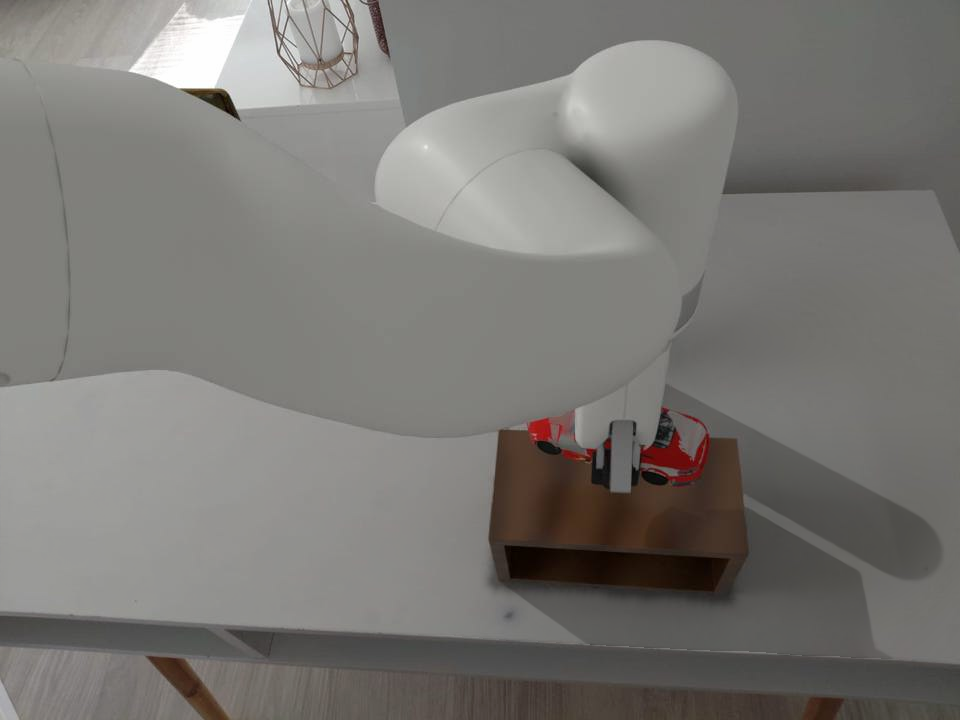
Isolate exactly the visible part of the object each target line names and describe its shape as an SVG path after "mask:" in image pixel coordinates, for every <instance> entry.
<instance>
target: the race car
mask: <svg viewBox="0 0 960 720" xmlns="http://www.w3.org/2000/svg"><path fill="white" fill-rule="evenodd" d="M610 424H612V423H610ZM526 427H527V430H528V433H529V436H530V438H531V441H532V442H533V444H534V445H535V444H536V441H537V447H538V448H539V449H540V450H541V451H543V452H545V453H547V454H551V455H558V454H560V453H561V451H562V452H563V456H564V457H567V458H571V459H574V460H578V461H581V462H584V463H588V464H591V465H592V452H595V451H596V450H597V448H596V449H588V448H582V447H581V446H580V445H579V444H578V443H577V442H576V440H575V409H574V410H572V411H569V412H566V413H564V414H560V415H556V416H553V417H549V418H545V419H541V420H537V421H533V422H529V423H526ZM709 437H710V434H709V432H708V428H707V426H706V425H705V423H704V422H703V421H701V420H700V419H699V418H697V417H695V416H692V415H689V414H687V413H683V412H679V411H676V410H672V409H669V408H666V407H663V406H662V407H661V413H660V418H659V424H658V428H657V433H656V436H655V439H654V442H653V443H652V445H651V446H650V447H648V448H647V449H646V450H644V449H643V447H641V449H640V454H641V457H642V461H641V467H640V473H641V472H642V474H641V476H642V478H643V479H644V480H645V481H647V482H648V483H650V484H654V485H659V486H661V485H666V484H667V483H668V480H669V481H670V485H669V486H672V487H684V486H689V485H692V484H694V483H695V482H696V481H697V480H698V478H699V479H701V475H702V471H703V469H704V466H705V463H706V461H707V456H708V452H709V445H710V438H709ZM605 448H610V449H611V441H605ZM640 473H639V475H640Z"/></svg>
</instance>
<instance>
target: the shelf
mask: <svg viewBox="0 0 960 720" xmlns="http://www.w3.org/2000/svg"><path fill="white" fill-rule="evenodd" d="M709 438H710V445H709V452H708V456H707V461H706V463H705V466H704V469H703V471H702V475H701V479H699V478H698V480H697V481H696V482H695V483H694V484H692V485H689V486H684V487H672V486H669V485H670V481H669V480H668V483H667V484H666V485H661V486H659V485H654V484H650V483H648V482H647V481H645V480H644V479H643V478H642V476H641V474H642V472H641V473H640V475H639V479H638V484H637V485H636V486H631V493H630V494H629V493H610V489H606V488H604V487H603V485H595V484H592V483H591V471H592V465H591V464H588V463H584V462H581V461H578V460H574V459H571V458H567V457H564V456H563V452H562V451H561V453H560V454H558V455H551V454H547V453H545V452H543V451H541V450H540V449H539V448H538V447H537V441H536V444H535V445H534V444H533V442H532V441H531V438H530V436H529V433H528V429H526V430H525V429H501V430H497V444H496V454H495V463H494V464H495V465H494V475H493V482H492V483H493V485H492V487H493V488H492V494H491V495H492V496H491V505H490V514H489V526H488V537H487V539H488V544H489V547H490V552H491V556H492V561H493V564H494V569H495V574H496V578H497V581H498V582H510V583H511V582H512V583H523V584H524V583H525V584H541V585H554V586H555V585H557V586H570V587H584V588H585V587H586V588H587V587H588V588H599V589H601V588H602V589H616V590H630V591H631V590H632V591H647V592H661V593H662V592H663V593H677V594H690V595H691V594H693V595H707V596H721V597H723V596H724V597H727V595H728V594H729V592H730V590H731V588H732V587H733V585H734V582H735V581H736V579H737V578H738V575H739V573H740V572H741V571H742V568H743V567H744V564H745V562H746V561H747V559H748V558H749V557H748V556H749V555H750V550H749V540H748V539H749V538H748V530H747V529H748V528H747V521H746V512H745V511H746V510H745V503H744V493H743V492H744V491H743V482H742V474H741V464H740V455H739V445H738V438H736V437H732V438H731V437H710V436H709Z"/></svg>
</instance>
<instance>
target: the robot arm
mask: <svg viewBox="0 0 960 720" xmlns="http://www.w3.org/2000/svg"><path fill="white" fill-rule="evenodd" d="M179 88H180V87H176V86H174V85H171V84H169V83H167V82H164V81H162V80H159V79H157V78H154V77H151V76H148V75H145V74H141V73H137V72H132V71H129V70H118V69H111V68H101V67H91V66H79V65H72V64H71V65H70V64H63V63H54V62H45V61H39V60H38V61H37V60H28V59H22V58H21V59H20V58H7V57H0V389H1V388H7V387H8V388H9V387H17V386H24V385H33V384H41V383H51V382H58V381H59V382H60V381H65V380H67V381H68V380H73V379H83V378H89V377H95V376H96V377H97V376H104V375H112V374H118V373H129V372H132V373H133V372H143V371H144V372H145V371H168V372H175V373H181V374H184V375H185V374H186V375H188V376H192V377H195V378H197V379H200V380H204V381H206V382H209V383H211V384H214V385H215V386H216V385H217V386H219V387H221V388H224V389H225V390H226V389H227V390H228V391H232V392H234V393H237V394H240V395H242V396H244V397H247V398H251V399H254V400H257V401H259V402H262V403H266V404H269V405H272V406H276V407H279V408H282V409H286V410H290V411H294V412H297V413H300V414H304V415H308V416H312V417H317V418H321V419H324V420H329V421H334V422H338V423H340V424H341V423H342V424H345V425H350V426H354V427H359V428H362V429H365V430H369V431H375V432H380V433H385V434H391V435H398V436H403V437H415V438H423V439H457V438H465V437H474V436H480V435H485V434H488V433H489V434H490V433H493V432H496V431H497V432H498V431H499V430H501V429H503V430H506V429H509V428H513V427H517V426H521V425H526V424H527V423H529V422H533V421H537V420H541V419H545V418H549V417H553V416H556V415H560V414H564V413H566V412H569V411H572V410H574V409H575V440H576V442H577V443H578V444H579V445H580V446H581V447H582V448H588V449H596V448H597V450H596V451H595V452H592V471H591V483H592V484H595V485H603V487H604V488H606V489H610V493H629V494H630V493H631V486H636V485H637V484H638V479H639V473H640V467H641V461H642V457H641V454H640V449H641V447H643V449H644V450H646V449H647V448H648V447H650V446H651V445H652V443H653V442H654V439H655V436H656V433H657V428H658V424H659V418H660V413H661V407H663V400H664V395H665V388H666V382H667V376H668V375H667V374H668V370H669V367H670V363H669V362H670V356H671V355H670V354H671V350H672V349H671V348H672V342H673V339H674V338H676V337H678V336H679V335H680V334H681V333H682V332H683V331H685V330H686V328H687V327H688V326H689V324H691V322H692V321H693V319H694V317H695V315H696V313H697V309H698V305H699V299H700V296H701V292H702V287H703V282H704V278H705V273H706V268H707V262H708V258H709V254H710V250H711V245H712V242H713V238H714V232H715V228H716V224H717V219H718V215H719V210H720V206H721V201H722V198H723V193H724V192H723V191H724V188H725V184H726V179H727V174H728V170H729V164H730V161H731V156H732V152H733V147H734V142H735V138H736V132H737V127H738V126H737V124H738V121H739V100H738V94H737V91H736V87H735V85H734V83H733V81H732V79H731V77H730V75H729V74H728V73H727V71H726V70H725V68H724V67H723V66H722V65H721V64H720V63H719V62H717V60H715V59H714V58H712V57H711V56H710V55H708V54H706V53H705V52H703V51H701V50H698V49H696V48H694V47H692V46H689V45H686V44H683V43H679V42H674V41H668V40H659V39H657V40H656V39H647V40H646V39H645V40H644V39H643V40H633V41H627V42H623V43H620V44H616V45H614V46H613V45H612V46H610V47H607V48H606V49H602V50H601V51H599V52H597V53H595V54H593V55H592V56H590V57H588V58H587V59H586V60H584V61H583V62H582V63H581V64H580V65H579V66H577V67H576V69H575V70H574V71H573V72H571V73H569V74H567V75H564V76H560V77H557V78H553V79H549V80H546V81H541V82H537V83H534V84H530V85H525V86H521V87H516V88H512V89H507V90H503V91H498V92H493V93H489V94H484V95H479V96H475V97H471V98H467V99H465V100H461V101H456V102H453V103H450V104H448V105H446V106H443V107H440V108H438V109H434V110H433V111H431V112H429V113H427V114H425V115H423V116H422V117H420V118H418V119H417V120H415V121H413V122H412V123H411V124H409V125H407V126H406V127H405V128H403V130H402V131H400V132H399V133H398V134H397V136H396V137H395V138H394V139H393V140H392V141H391V142H390V144H389V145H387V148H386V149H385V151H384V153H383V154H382V157H381V158H380V160H379V162H378V165H377V168H376V172H375V178H374V198H375V203H373V202H372V201H370V200H368V199H366V198H365V197H362V196H360V195H358V194H357V193H355V192H353V191H352V190H349V189H348V188H346V187H344V186H343V185H341V184H339V183H337V181H334V180H332V179H331V178H329V177H328V176H326V175H324V174H323V173H322V172H321V171H318V170H317V169H316V168H314V167H312V166H311V165H309V164H308V163H306V162H305V161H304V160H301V159H300V158H298V157H297V156H295V155H294V154H293V153H291V152H289V151H288V150H286V149H285V148H283V147H281V146H280V145H278V144H277V143H275V142H274V141H272V140H271V139H269V138H268V137H267V136H265V135H263V134H262V133H260V132H259V131H258V130H256V129H254V128H253V127H250V125H248V124H246V123H244V122H243V121H242V120H241V121H239V120H238V119H236V118H234V117H233V116H231V115H230V114H228V113H226V112H224V111H222V110H220V109H219V108H217V107H215V106H213V105H211V104H209V103H207V102H205V101H203V100H201V99H199V98H197V97H195V96H193V95H191V94H188V93H186V92H184V91H182V90H180V89H179ZM610 423H612V424H610ZM605 441H611V449H610V448H605Z"/></svg>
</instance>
